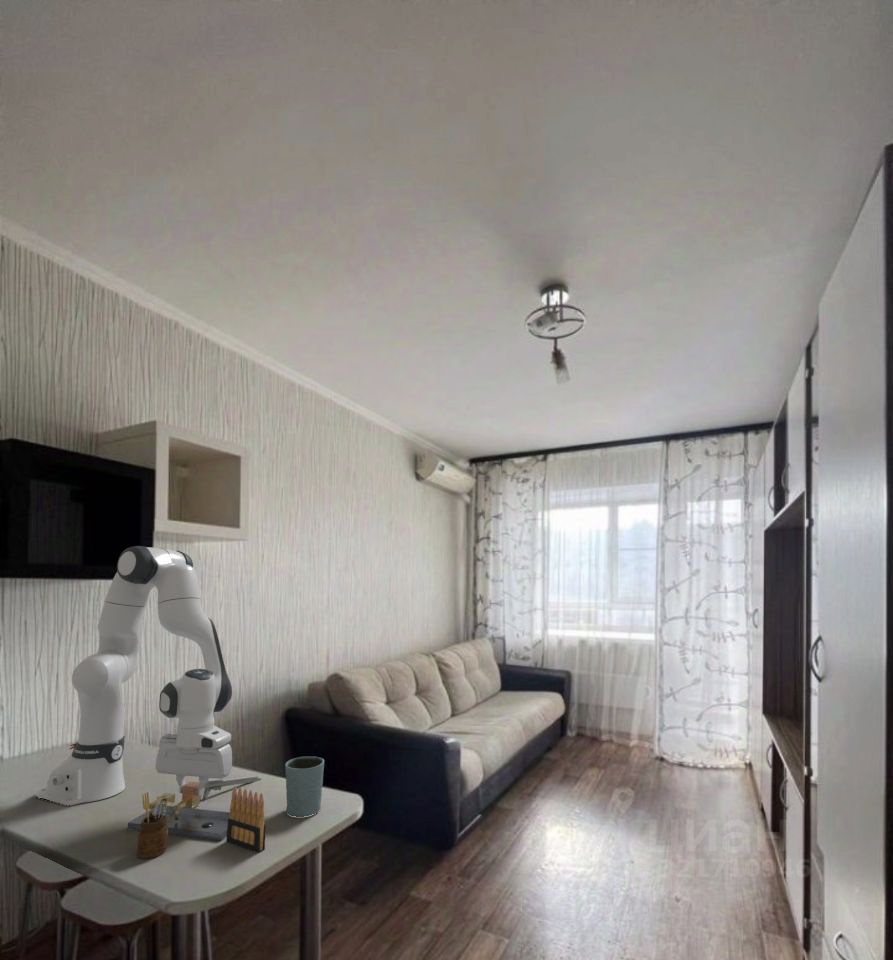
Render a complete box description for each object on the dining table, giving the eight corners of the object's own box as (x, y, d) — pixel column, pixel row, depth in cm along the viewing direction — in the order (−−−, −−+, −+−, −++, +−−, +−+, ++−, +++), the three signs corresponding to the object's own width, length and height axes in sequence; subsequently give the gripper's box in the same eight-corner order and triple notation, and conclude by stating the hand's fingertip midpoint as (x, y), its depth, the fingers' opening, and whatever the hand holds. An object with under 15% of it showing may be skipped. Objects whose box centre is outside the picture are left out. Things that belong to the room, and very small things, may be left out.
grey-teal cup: (299, 823, 138) (301, 771, 140) (274, 812, 144) (277, 763, 146) (331, 809, 146) (332, 760, 148) (306, 799, 152) (307, 753, 154)
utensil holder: (151, 861, 120) (155, 801, 122) (129, 856, 122) (133, 798, 124) (172, 848, 126) (176, 791, 127) (151, 844, 128) (155, 788, 130)
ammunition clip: (265, 849, 125) (267, 792, 127) (258, 853, 124) (261, 795, 125) (232, 838, 130) (235, 783, 132) (225, 842, 129) (228, 786, 131)
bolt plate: (127, 829, 135) (128, 807, 136) (156, 811, 145) (158, 791, 145) (221, 840, 129) (222, 817, 130) (246, 821, 139) (247, 800, 140)
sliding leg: (169, 819, 136) (171, 792, 136) (189, 807, 142) (190, 781, 143) (180, 821, 135) (182, 793, 136) (199, 808, 142) (200, 782, 143)
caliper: (198, 803, 150) (199, 779, 151) (195, 802, 151) (197, 778, 152) (261, 780, 167) (262, 758, 168) (258, 779, 167) (259, 757, 168)
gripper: (151, 736, 143) (147, 794, 140) (222, 742, 138) (218, 802, 136) (169, 729, 149) (165, 785, 146) (237, 734, 144) (233, 792, 142)
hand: (191, 793), depth 141 cm, fingers closed on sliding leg, 3 cm apart
